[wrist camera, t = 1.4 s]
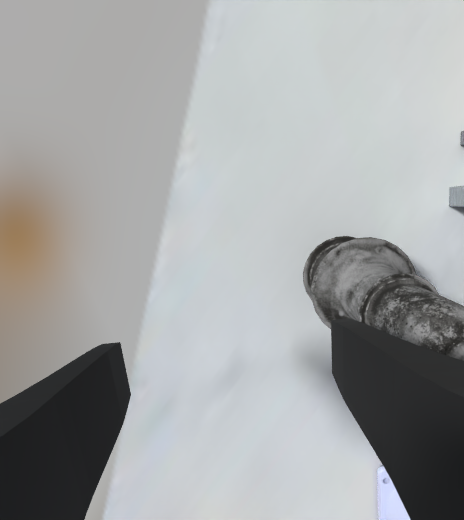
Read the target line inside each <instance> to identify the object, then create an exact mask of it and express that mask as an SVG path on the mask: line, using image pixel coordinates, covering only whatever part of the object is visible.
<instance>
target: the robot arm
mask: <svg viewBox="0 0 464 520" xmlns="http://www.w3.org/2000/svg"><path fill="white" fill-rule="evenodd" d="M331 337H332V374H333V376H334V378H335V381H336V383H337V386H338V388H339V390H340V392H341V395H342V397H343V399H344V401H345V403H346V404H347V406H348V408H349V409H350V411H351V413H352V414H353V416H354V418H355V420H356V421H357V423H358V425H359V426H360V428H361V429H362V431H363V433H364V434H365V436H366V438H367V439H368V441H369V443H370V444H371V446H372V448H373V449H374V451H375V453H376V454H377V456H378V458H379V459H380V461H381V462H382V464H383V466H381V467H379V469H378V471H377V484H378V520H464V361H463V360H460V359H456V358H453V357H450V356H447V355H444V354H441V353H438V352H435V351H432V350H429V349H427V348H424V347H421V346H418V345H416V344H413V343H411V342H408V341H406V340H403V339H401V338H398V337H396V336H393V335H391V334H388V333H386V332H384V331H381V330H379V329H377V328H374V327H372V326H369V325H367V324H365V323H362V322H359V321H357V320H354V319H350V318H346V319H337V320H331ZM130 396H131V393H130V388H129V383H128V378H127V373H126V368H125V364H124V359H123V354H122V349H121V344H120V342H119V343H109V344H102V345H99V346H97V347H95V348H93V349H92V350H90V351H88V352H86V353H85V354H83V355H82V356H80V357H78V358H77V359H75V360H74V361H72V362H70V363H69V364H67V365H66V366H64V367H62V368H61V369H59V370H58V371H56V372H54V373H53V374H51V375H50V376H48V377H46V378H45V379H43V380H41V381H39V382H38V383H36V384H34V385H33V386H31V387H29V388H28V389H26V390H24V391H23V392H21V393H19V394H17V395H15V396H14V397H12V398H10V399H8V400H6V401H4V402H3V403H1V404H0V520H84V519H85V516H86V513H87V510H88V508H89V505H90V502H91V500H92V497H93V495H94V492H95V490H96V487H97V485H98V483H99V480H100V478H101V475H102V473H103V471H104V468H105V466H106V464H107V461H108V459H109V457H110V454H111V452H112V450H113V447H114V445H115V442H116V440H117V437H118V435H119V433H120V430H121V428H122V425H123V422H124V419H125V415H126V412H127V408H128V404H129V400H130ZM384 478H386V479H384Z"/></svg>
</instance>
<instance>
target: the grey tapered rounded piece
mask: <svg viewBox="0 0 464 520" xmlns="http://www.w3.org/2000/svg"><path fill="white" fill-rule="evenodd" d="M303 282H304V286H305V289H306V292H307V294H308V295H309V297H310V298H311V300H312V302H313V305H314V308H315V311H316V313H317V314H318V316H319V317H320V319H321V320H322V322H323V323H324V324H325V325H327V326H328V327H329V328H330V329H331V320H337V319H346V318H350V319H354V320H357V321H359V322H362V323H365V324H367V325H369V326H372V327H374V328H377V329H379V330H381V331H384V332H386V333H388V334H391V335H393V336H396V337H398V338H401V339H403V340H406V341H408V342H411V343H413V344H416V345H418V346H421V347H424V348H427V349H429V350H432V351H435V352H438V353H441V354H444V355H447V356H450V357H453V358H456V359H460V360H463V361H464V306H462V305H460V304H458V303H455V302H453V301H451V300H449V299H446V298H444V297H442V296H440V295H439V294H438V292H437V291H436V289H435V287H434V286H432V285H431V284H430V283H429V282H428V281H427V280H425V279H423V278H421V277H419V276H417V275H416V274H415V270H414V266H413V265H412V263H411V261H410V260H409V258H408V256H407V255H406V254H405V253H404V252H403V251H402V250H401V249H400V248H399V247H398V246H396V245H394V244H392V243H390V242H388V241H386V240H382V239H377V238H371V237H369V238H354V237H349V236H343V237H335V238H332V239H329V240H326V241H325V242H323V243H322V244H320V245H319V246H317V247H316V248H315V250H314V251H313V252H312V253H311V254H310V256H309V258H308V259H307V261H306V263H305V267H304V272H303Z"/></svg>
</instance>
